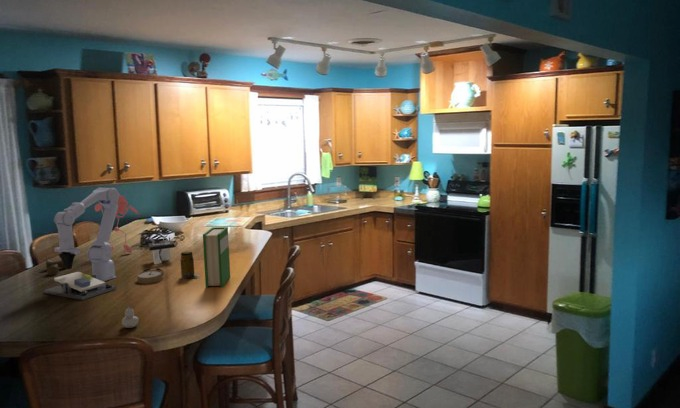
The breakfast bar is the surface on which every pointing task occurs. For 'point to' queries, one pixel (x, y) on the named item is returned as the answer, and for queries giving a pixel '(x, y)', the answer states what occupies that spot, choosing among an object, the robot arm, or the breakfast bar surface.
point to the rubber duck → (129, 318)
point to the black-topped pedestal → (161, 250)
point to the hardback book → (216, 256)
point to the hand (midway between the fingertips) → (68, 268)
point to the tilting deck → (77, 276)
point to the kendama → (54, 266)
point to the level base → (73, 293)
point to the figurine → (121, 208)
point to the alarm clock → (150, 276)
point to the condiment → (187, 266)
